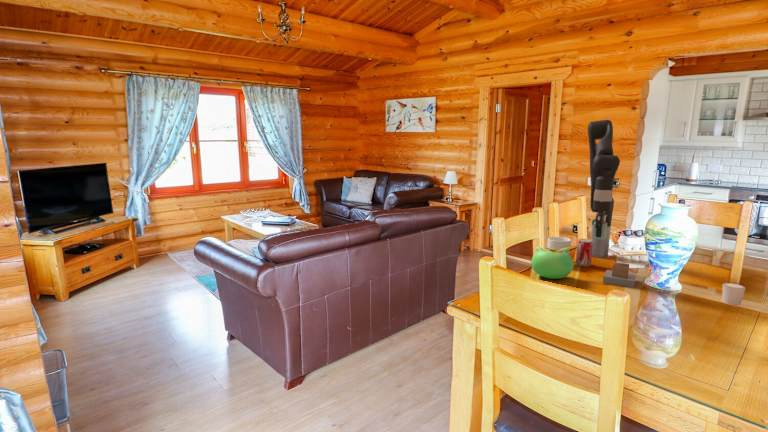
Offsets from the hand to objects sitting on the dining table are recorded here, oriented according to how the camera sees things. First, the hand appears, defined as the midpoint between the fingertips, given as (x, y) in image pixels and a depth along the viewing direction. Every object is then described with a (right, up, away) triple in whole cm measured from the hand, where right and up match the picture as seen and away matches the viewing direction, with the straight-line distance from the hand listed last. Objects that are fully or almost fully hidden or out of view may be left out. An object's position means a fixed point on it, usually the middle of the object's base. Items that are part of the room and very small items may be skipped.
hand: (599, 235), depth 193 cm
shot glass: (+37, -25, -29) cm, 53 cm away
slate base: (+7, -21, -4) cm, 22 cm away
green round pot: (-21, -20, +2) cm, 29 cm away
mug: (-9, -16, +26) cm, 31 cm away
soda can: (+3, -16, +22) cm, 27 cm away
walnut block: (+7, -18, -4) cm, 19 cm away
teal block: (0, -1, 0) cm, 1 cm away
